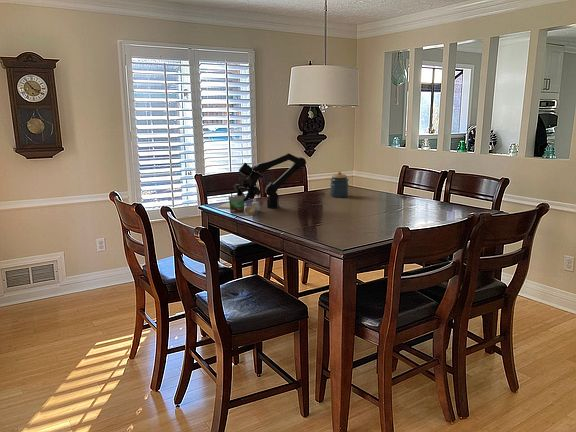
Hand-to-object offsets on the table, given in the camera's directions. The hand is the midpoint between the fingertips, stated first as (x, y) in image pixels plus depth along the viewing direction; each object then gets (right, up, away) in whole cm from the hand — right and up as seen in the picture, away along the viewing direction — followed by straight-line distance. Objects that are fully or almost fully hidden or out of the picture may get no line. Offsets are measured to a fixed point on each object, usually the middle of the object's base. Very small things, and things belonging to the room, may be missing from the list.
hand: (240, 200), depth 281 cm
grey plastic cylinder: (+9, -6, +3) cm, 11 cm away
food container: (-1, -7, +1) cm, 7 cm away
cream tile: (-7, -3, +17) cm, 19 cm away
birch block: (+6, -8, -7) cm, 13 cm away
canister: (+65, +5, +52) cm, 83 cm away
